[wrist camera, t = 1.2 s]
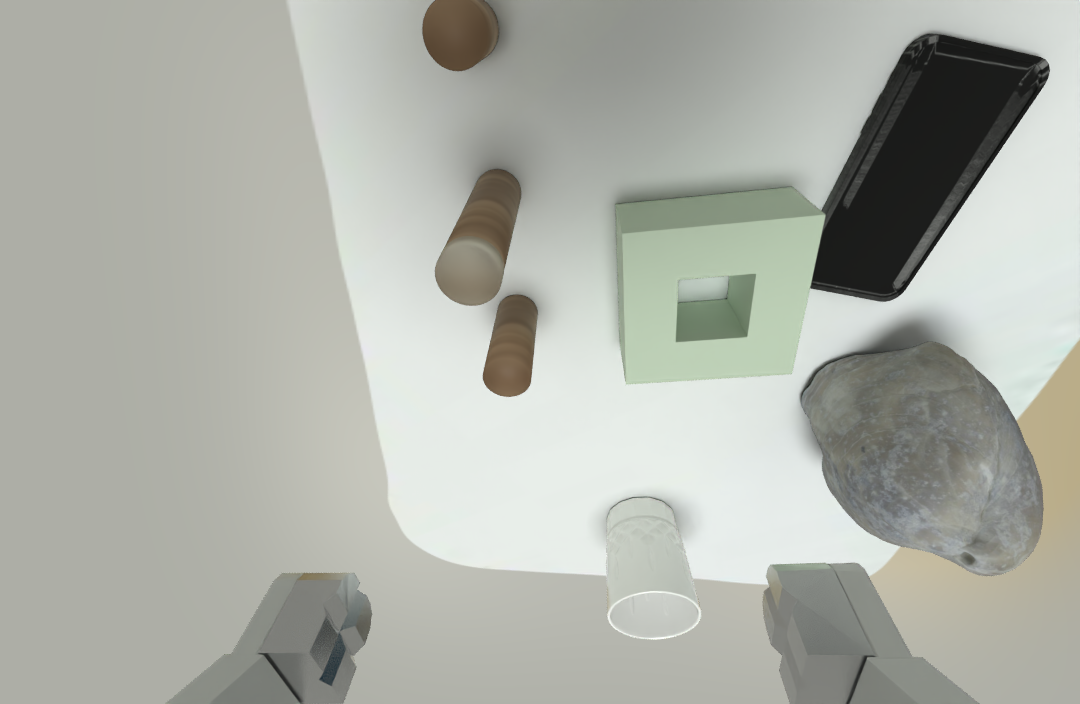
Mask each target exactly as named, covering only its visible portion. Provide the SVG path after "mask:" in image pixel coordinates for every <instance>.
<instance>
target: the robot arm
mask: <svg viewBox="0 0 1080 704" xmlns="http://www.w3.org/2000/svg"><path fill="white" fill-rule="evenodd" d="M766 577H767V580H768V583H769V586H770V587H769V588H768V589H766V590H765V591H764V595H763V613H764V620H765V624H766V629H767V632H768V636H769V639H770V643H771V645H772V646H773V647H774V648H775V649H776V650H777V651H778V652H779V653H780V654H781V655H782V660H781V664H780V669H779V671H780V674H781V678H782V681H783V684H784V687H785V690H786V693H787V696H788V699H789V702H790V704H979V703H978V702H977V701H975V700H974V699H973V698H972V697H971V696H969V695H968V694H967V693H966V692H964V691H963V690H962V689H961V688H959V687H958V686H957V685H956V684H954V683H953V682H952V681H951V680H950V679H948V678H947V677H946V676H945V675H943V674H942V673H941V672H940V671H939V670H937V669H936V668H935V667H933V666H932V665H931V664H930V663H929V662H927V661H926V660H925V659H924V658H922V657H912V655H911V653H910V651H909V649H908V648H907V646H906V644H905V642H904V641H903V639H902V637H901V635H900V633H899V631H898V629H897V628H896V626H895V624H894V622H893V620H892V618H891V616H890V615H889V613H888V611H887V609H886V607H885V606H884V604H883V602H882V600H881V598H880V596H879V595H878V593H877V591H876V589H875V587H874V585H873V584H872V582H871V580H870V578H869V576H868V574H867V573H866V571H865V569H864V568H863V567H862V566H861V565H860V564H858V563H833V564H826V563H805V564H776V565H770V566H769V567H768V570H767V575H766ZM359 584H360V582H359V580H358V578H357V576H356V575H355V573H282V574H281V575H280V576H278V577H277V578H276V579H275V580H274V581H273V583H272V585H271V586H270V588H269V590H268V592H267V593H266V595H265V597H264V598H263V600H262V602H261V604H260V605H259V607H258V609H257V610H256V612H255V614H254V616H253V617H252V619H251V621H250V622H249V624H248V626H247V628H246V629H245V631H244V633H243V635H242V636H241V638H240V640H239V641H238V643H237V645H236V647H235V648H234V650H233V652H232V654H224V655H223V656H222V657H221V658H219V659H218V660H217V661H216V662H215V663H213V664H212V665H211V666H210V667H209V668H208V669H206V670H205V671H204V672H203V673H201V674H200V675H199V676H198V677H197V678H195V679H194V680H193V681H192V682H191V683H190V684H188V685H187V686H186V687H185V688H184V689H182V690H181V691H180V692H179V693H178V694H176V695H175V696H174V697H173V698H172V699H170V700H169V701H168V702H167V703H166V704H343V702H344V700H345V697H346V694H347V692H348V689H349V686H350V684H351V681H352V678H353V676H354V673H355V670H356V664H355V660H354V655H355V654H356V653H357V652H358V651H359V650H360V648H362V647H363V646H364V645H365V642H366V639H367V636H368V634H369V631H370V625H371V616H372V611H371V604H370V602H369V600H368V597H367V596H366V595H365V594H363V593H362V592H360V591H359V590H357V589H358V587H359Z"/></svg>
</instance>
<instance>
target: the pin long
mask: <svg viewBox="0 0 1080 704" xmlns="http://www.w3.org/2000/svg"><path fill="white" fill-rule="evenodd" d="M520 199H521V188H520V185H519V183H518V181H517V180H516V178H515V177H514V176H513V175H512V174H510V173H509V172H507V171H504V170H500V169H493V170H489V171H487V172H485V173H484V174H482V175H481V176H480V178H479V179H478V181H477V183H476V185H475V187H474V189H473V191H472V193H471V195H470V197H469V199H468V201H467V203H466V205H465V207H464V209H463V211H462V213H461V215H460V217H459V219H458V221H457V223H456V225H455V227H454V229H453V231H452V233H451V235H450V237H449V239H448V241H447V244H446V246H445V247H444V249H443V251H442V253H441V255H440V257H439V259H438V261H437V263H436V267H435V277H436V281H437V284H438V286H439V288H440V289H441V291H442V292H443V293H444V294H445V295H446V296H447V297H448V298H450V299H451V300H453V301H455V302H457V303H460V304H463V305H469V306H475V305H481V304H484V303H486V302H488V301H490V300H491V299H492V298H494V297H495V296H496V294H497V293H498V291H499V289H500V287H501V283H502V279H503V274H504V268H505V264H506V260H507V255H508V251H509V247H510V242H511V238H512V234H513V229H514V225H515V221H516V217H517V212H518V208H519V204H520Z"/></svg>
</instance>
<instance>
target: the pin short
mask: <svg viewBox="0 0 1080 704" xmlns="http://www.w3.org/2000/svg"><path fill="white" fill-rule="evenodd" d="M498 34H499V28H498V21H497V18H496V15H495V13H494V11H493V10H492V8H491V7H490V6H489V5H488V4H487V3H486V2H485V1H484V0H435V1H434V2H433V3H432V4H431V5H430V7H429V8H428V10H427V12H426V14H425V17H424V20H423V39H424V43H425V45H426V48H427V50H428V52H429V54H430V55H431V57H432V58H433V59H434V60H435V61H436V62H437V63H438V64H439V65H441V66H442V67H444V68H446V69H448V70H452V71H463V70H467V69H469V68H471V67H473V66H474V65H476V64H477V63H478V62H480V61H481V60H483V59H484V58H485V57H487V56H488V55H489V54H490V53H491V52H492V51H493V49H494V48H495V46H496V43H497V40H498Z"/></svg>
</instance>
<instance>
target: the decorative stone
mask: <svg viewBox="0 0 1080 704" xmlns="http://www.w3.org/2000/svg"><path fill="white" fill-rule="evenodd" d="M801 403H802V407H803V409H804V412H805V414H806V415H807V416H808V417H809V419H810V423H811V426H812V429H813V432H814V434H815V435H816V437H817V440H818V443H819V445H820V447H821V449H822V453H823V458H822V471H823V475H824V478H825V481H826V483H827V486H828V488H829V490H830V492H831V493H832V494H833V496H834V497H835V498H836V499H837V501H838V502H839V504H840V505H841V506H842V508H843V509H844V510H845V511H846V513H847V514H848V515H849V516H850V517H851V518H852V519H853V520H854V521H855V522H856V523H857V524H858V525H859V526H860V527H862V528H863V529H864V530H866V531H867V532H869V533H870V534H872V535H874V536H876V537H878V538H879V539H881V540H883V541H886V542H888V543H891V544H894V545H898V546H901V547H907V548H912V549H918V550H922V551H926V552H931V553H934V554H936V555H938V556H940V557H943V558H945V559H947V560H950V561H952V562H954V563H956V564H957V565H959V566H961V567H963V568H965V569H966V570H967V571H969V572H972V573H974V574H977V575H982V576H995V575H1001V574H1004V573H1006V572H1009V571H1011V570H1013V569H1015V568H1016V567H1017V566H1019V565H1020V564H1021V563H1022V562H1024V561H1025V560H1026V559H1027V558H1028V557H1029V556H1030V554H1031V553H1032V552H1033V550H1034V548H1035V546H1036V544H1037V542H1038V540H1039V537H1040V534H1041V529H1042V521H1043V492H1042V484H1041V480H1040V476H1039V474H1038V471H1037V468H1036V465H1035V462H1034V459H1033V456H1032V454H1031V452H1030V451H1029V449H1028V447H1027V445H1026V443H1025V441H1024V438H1023V435H1022V433H1021V430H1020V428H1019V426H1018V424H1017V422H1016V420H1015V418H1014V416H1013V414H1012V413H1011V411H1010V409H1009V408H1008V406H1007V404H1006V403H1005V401H1004V399H1003V398H1002V396H1001V395H1000V393H999V391H998V390H997V388H996V387H995V386H994V385H993V384H992V383H991V382H990V381H989V380H988V379H987V378H986V377H985V376H984V375H982V374H981V373H980V372H979V371H977V370H976V369H975V368H974V367H973V365H971V364H970V363H969V362H968V361H967V360H966V359H965V358H963V357H961V356H959V355H958V354H956V353H955V352H954V351H953V350H952V349H950V348H948V347H947V346H945V345H942V344H939V343H936V342H926V343H923V344H921V345H918V346H915V347H912V348H908V349H902V350H897V351H891V352H884V353H876V354H865V355H854V356H849V357H846V358H843V359H840V360H837V361H835V362H832V363H829V364H827V365H826V366H825V367H824V368H823V369H821V370H820V371H819V372H818V373H817V374H816V375H815V377H814V379H813V381H812V383H811V384H810V386H809V387H808V388H807V389H806V390H805V391H804V393H803V396H802V400H801Z"/></svg>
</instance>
